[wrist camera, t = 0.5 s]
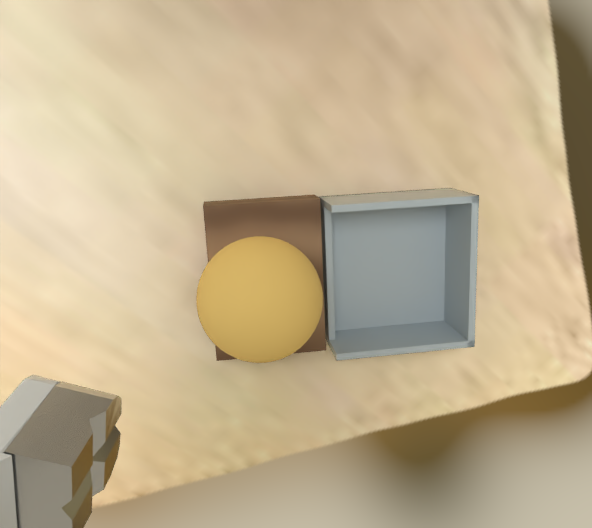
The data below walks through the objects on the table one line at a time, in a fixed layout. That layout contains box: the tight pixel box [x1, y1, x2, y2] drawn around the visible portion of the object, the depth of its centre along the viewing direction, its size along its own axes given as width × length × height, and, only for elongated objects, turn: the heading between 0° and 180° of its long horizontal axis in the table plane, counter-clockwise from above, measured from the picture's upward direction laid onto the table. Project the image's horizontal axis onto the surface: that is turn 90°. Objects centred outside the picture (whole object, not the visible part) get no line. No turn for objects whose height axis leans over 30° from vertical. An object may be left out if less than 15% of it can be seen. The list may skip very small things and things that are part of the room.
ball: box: [197, 236, 323, 363], centre depth 45 cm, size 10×10×10 cm
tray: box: [319, 188, 479, 360], centre depth 52 cm, size 14×13×6 cm
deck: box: [203, 195, 326, 361], centre depth 52 cm, size 14×10×3 cm
